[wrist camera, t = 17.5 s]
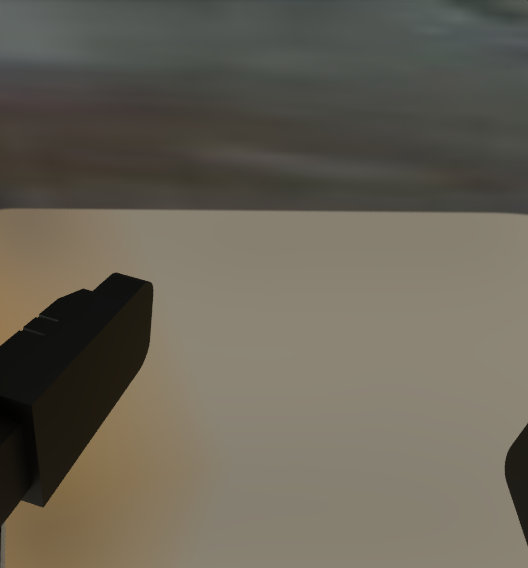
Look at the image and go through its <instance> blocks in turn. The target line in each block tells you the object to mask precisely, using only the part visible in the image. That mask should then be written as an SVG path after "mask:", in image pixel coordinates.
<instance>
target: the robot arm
mask: <svg viewBox="0 0 528 568" xmlns="http://www.w3.org/2000/svg"><path fill="white" fill-rule="evenodd" d="M152 303H153V285H152V283H151V282H148V281H145V280H141V279H138V278H134V277H130V276H127V275H123V274H120V273H113V274H112V275H110V276H109V277H108V278H107V279H106V280H105V281H103V282H102V283H101V284H100V285H99V286H98V287H97V288H96V289H95V290H93V291H89V290H86V289H81V290H79V291H76V292H74V293H71V294H69V295H66V296H64V297H61V298H59V299H57V300H56V301H55V302H54V303H52V304H51V305H50V306H49V307H48V308H46V309H45V310H44V311H43V312H41V313H40V314H39V317H38V318H37V317H35V318H34V319H33V320H32V321H30V322H29V323H28V324H27V325H25V326H24V328H23V330H22V331H20V330H19V331H18V332H17V333H16V334H14V335H13V336H12V337H11V338H10V339H8V340H7V341H6V342H5V343H3V344H2V345H1V346H0V568H5V520H6V519H7V518H8V517H9V515H10V514H11V513H12V511H13V510H14V509H15V507H16V506H17V505H18V503H19V502H20V501H21V500H22V501H25V502H29V503H31V504H34V505H37V506H40V507H44V506H45V505H46V503H47V502H48V500H49V499H50V497H51V496H52V495H53V493H54V492H55V490H56V489H57V487H58V486H59V484H60V483H61V482H62V480H63V479H64V477H65V476H66V474H67V473H68V472H69V470H70V469H71V467H72V466H73V465H74V463H75V462H76V460H77V459H78V457H79V456H80V454H81V453H82V451H83V450H84V449H85V447H86V446H87V444H88V443H89V442H90V440H91V439H92V437H93V436H94V434H95V433H96V432H97V430H98V429H99V427H100V426H101V424H102V423H103V422H104V420H105V419H106V417H107V416H108V414H109V413H110V412H111V410H112V409H113V407H114V406H115V404H116V403H117V401H118V400H119V399H120V397H121V396H122V394H123V393H124V391H125V390H126V389H127V387H128V386H129V384H130V383H131V381H132V380H133V379H134V377H135V376H136V374H137V373H138V371H139V370H140V368H141V366H142V365H143V362H144V360H145V358H146V355H147V352H148V348H149V343H150V331H151V317H152ZM505 477H506V481H507V484H508V488H509V490H510V494H511V497H512V500H513V503H514V505H515V508H516V512H517V515H518V518H519V521H520V524H521V527H522V529H523V533H524V536H525V539H526V542H527V545H528V424H527V425H526V427H525V428H524V429H523V431H522V432H521V433H520V435H519V436H518V438H517V439H516V440H515V442H514V443H513V444H512V446H511V447H510V449H509V451H508V453H507V456H506V461H505Z"/></svg>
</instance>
